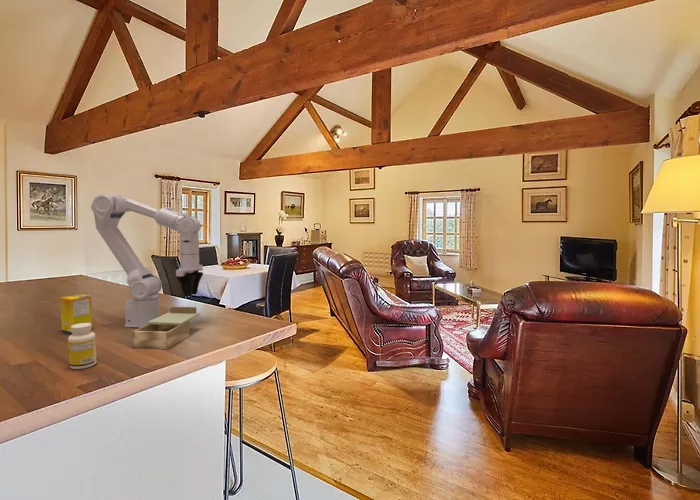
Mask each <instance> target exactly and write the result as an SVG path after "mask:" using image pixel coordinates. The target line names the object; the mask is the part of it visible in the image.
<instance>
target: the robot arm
mask: <svg viewBox="0 0 700 500" xmlns="http://www.w3.org/2000/svg"><path fill="white" fill-rule="evenodd" d="M90 209H91V211H92V212H93V216H94V221H95V222H94V223H95V224H94V225H95V228H96V230H97V232H98V234H99V235H100V237H101V238H102V239H103V241H104V242H105V244H106V245H107V247H108V249H109V250H110V251H111V252H112V254H113V256H114V257H115V259H116V260H117V262H118V263H119V264H120V267H121V268H122V269H123V270H124V272H125V273H126V275H127V279H126V283H127V285H128V287H129V293H130V295H131V296H132V297H130V298H128V300H127V301H126V303H125V308H124V310H125V312H124V314H125V317H124V318H125V325H124V328H141V327H143V326H145V325H147V322H148V321H151V320H153V319H155V318H157V317H159V316H160V295H159V292H160V291H161V290H162V288H163V283H162V280H161V279H160V278H159V277H157V276H156V275H154V273H153V272H152V270H150V269H148V268H147V267H145V266H144V265H143V263H142V262H141V260H140V259H139V257H138V255H137V254H136V253H135V251H134V249H133V248H132V246H131V245H130V243H129V242H128V241H127V238H126V237H125V236H124V235H123V232H121V230H120V229H119V227H118V226H119V223H120V220H121V219H122V218H123V217H124V216H125V214H126V213H127V212H128V213H130V212H134V213H136V214H139V215H142V216H145V217H149V218H152V219H154V221H155V223H156V224H158V225H159V226H162V227H165V228H168V229H171V230H173V231H176V232H178V233H179V252H180V253H179V256H180V257H179V260H180V261H179V262H180V265H179V266H180V267H179V268H178V269H176V270H175V276H176V279H177V280H178V282H179V284H180V285H181V289H182V293H183V295H184V297H192V296H193V295H197V294H198V289H199V284H200V282H201V280H202V277H203V275H204V272H203V269H204V268H203V267H204V266H203V264H200V239H199V236H200V235H199V232H200V231H201V229H202V225H201V224H202V223H201V222H200V220H199V219H198V218H197V217H195V216H187V213H184V212H183V213H180V212H178V211H175V210H173V208H172V207H170V206H167V207H161V208H159V209H158V208H155V207H153V206H151V205H148V204H146V203H143V202H141V201H138V200H136V199H134V198H131V197H127V196H125V197H124V196H121V195H112V194H106V193H100V194H98V195H96V196H95V197H94V199H93V200H92V203H91V205H90Z"/></svg>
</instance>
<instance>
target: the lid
mask: <svg viewBox="0 0 700 500" xmlns="http://www.w3.org/2000/svg"><path fill="white" fill-rule="evenodd" d="M198 316H200V312H197V306H195V307H194V306H170V308H169V311H168V312H166V313H164V314H162V315H159V317H157V318H155V319H153V320H151V321H148V322H147V324H162V325H182V324H184V323H186V322H188V321H189V322H190V321H191V320H193V319H195V318H197V317H198Z"/></svg>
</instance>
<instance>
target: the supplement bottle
mask: <svg viewBox="0 0 700 500" xmlns="http://www.w3.org/2000/svg"><path fill="white" fill-rule="evenodd" d="M92 328H93V326H92V327H91V323H80V324H75V325H72V326H71V333H73V334H69V336H68V338H67V345H68V346H67V347H68V361H69V363H68V364H69V367H70V369H72V370H81V369H82V370H83V369H87V368H90V367H93V366H95V365H96V364H97V361H98V355H97V354H98V353H97V338H96V333H95V332H93V331H92V330H93V329H92Z"/></svg>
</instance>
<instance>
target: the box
mask: <svg viewBox="0 0 700 500" xmlns="http://www.w3.org/2000/svg"><path fill="white" fill-rule="evenodd" d="M131 333H132V348H134V349H160V350H161V349H162V350H163V349H164V350H169V349H171V348H172V347H174V346H176V345H177V344H179V343H180V342H182V341H183V340H185V339H187V338H189V336H190V335H191V334H190V333H191V332H190V320H189V321H188V322H186V323H184V324H182V325H162V324H147V325H145V326H143V327H138V328H137V329H134V330H133V331H131Z"/></svg>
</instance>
